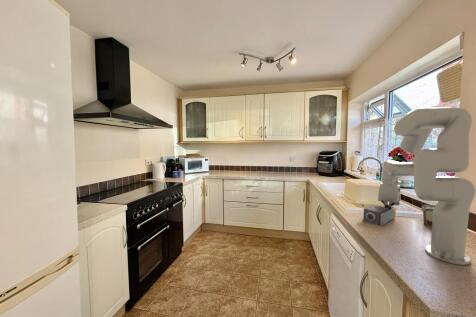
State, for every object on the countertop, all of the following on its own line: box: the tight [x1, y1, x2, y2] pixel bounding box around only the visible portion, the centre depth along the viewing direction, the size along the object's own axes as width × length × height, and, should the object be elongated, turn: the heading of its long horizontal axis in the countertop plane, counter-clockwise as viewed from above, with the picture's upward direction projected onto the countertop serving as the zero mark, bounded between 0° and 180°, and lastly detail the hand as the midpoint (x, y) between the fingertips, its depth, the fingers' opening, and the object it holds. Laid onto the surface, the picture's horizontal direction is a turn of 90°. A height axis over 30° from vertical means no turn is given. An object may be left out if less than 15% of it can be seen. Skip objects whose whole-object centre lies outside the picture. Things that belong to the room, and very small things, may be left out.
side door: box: [379, 207, 397, 227], centre depth 116 cm, size 18×1×6 cm, turn 125°
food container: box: [421, 204, 436, 227], centre depth 113 cm, size 12×6×10 cm, turn 84°
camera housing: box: [362, 204, 389, 226], centre depth 118 cm, size 14×8×8 cm, turn 126°
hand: (387, 212), depth 123 cm, fingers closed
